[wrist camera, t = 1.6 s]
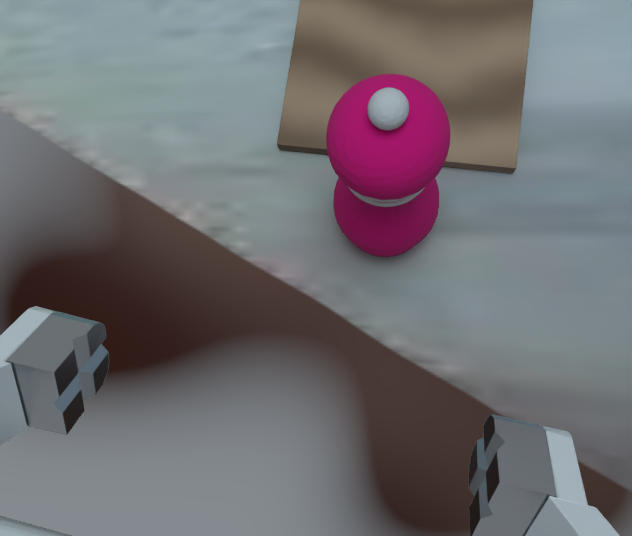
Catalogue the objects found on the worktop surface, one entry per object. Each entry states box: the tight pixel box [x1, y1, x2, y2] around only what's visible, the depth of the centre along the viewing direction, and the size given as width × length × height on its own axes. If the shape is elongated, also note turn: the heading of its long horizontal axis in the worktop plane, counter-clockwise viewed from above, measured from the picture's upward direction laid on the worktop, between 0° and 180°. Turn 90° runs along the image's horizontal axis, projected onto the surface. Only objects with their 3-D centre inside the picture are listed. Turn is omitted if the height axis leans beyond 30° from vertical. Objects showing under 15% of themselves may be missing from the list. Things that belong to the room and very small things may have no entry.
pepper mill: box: [326, 74, 450, 257], centre depth 33 cm, size 7×7×20 cm
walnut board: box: [277, 0, 533, 173], centre depth 45 cm, size 26×18×1 cm
